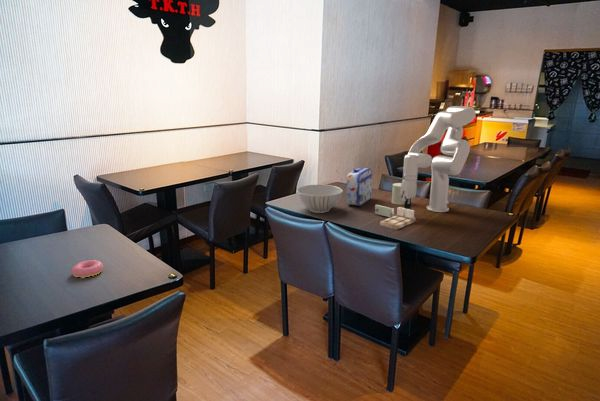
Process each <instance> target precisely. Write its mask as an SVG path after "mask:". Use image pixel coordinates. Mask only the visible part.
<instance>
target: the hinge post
mask: <svg viewBox="0 0 600 401" xmlns="http://www.w3.org/2000/svg"><path fill="white" fill-rule="evenodd" d="M391 208H392V213H391V217H393V216H395V208H393V207H391Z"/></svg>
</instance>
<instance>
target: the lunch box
mask: <svg viewBox="0 0 600 401" xmlns="http://www.w3.org/2000/svg"><path fill="white" fill-rule="evenodd" d="M372 170H373V169H372V168H371V167H368V168H367V167H359V168H356V169H355V168H354V169H353V170H352V171H351V172H348V174H347V175H346V204H347V205H351V206H358V207H361V206H363V204H366V202H368V201H369V200H371V198H372V194H373V192H372V191H373V182H372V181H373V171H372Z"/></svg>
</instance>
